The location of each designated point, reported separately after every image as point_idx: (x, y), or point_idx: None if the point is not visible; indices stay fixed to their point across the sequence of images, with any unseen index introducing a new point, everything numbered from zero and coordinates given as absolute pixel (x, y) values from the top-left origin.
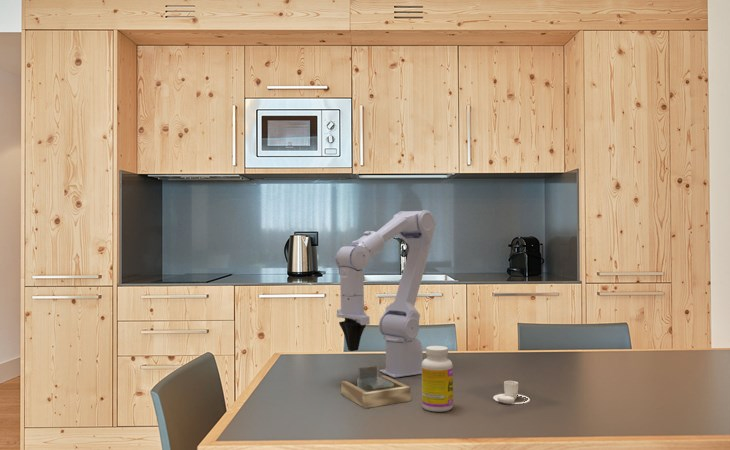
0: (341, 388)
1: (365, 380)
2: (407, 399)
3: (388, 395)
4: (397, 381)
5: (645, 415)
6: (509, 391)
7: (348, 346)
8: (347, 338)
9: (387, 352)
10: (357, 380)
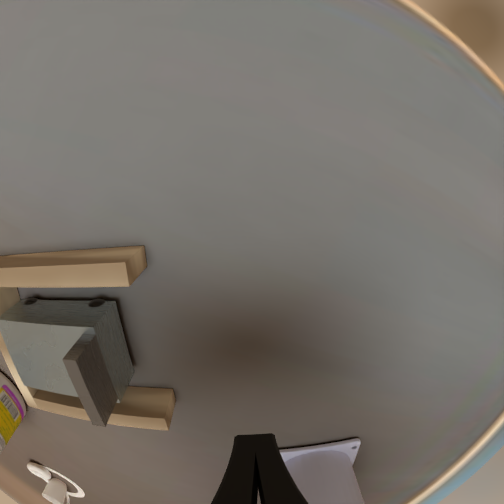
0: (134, 252)
1: (58, 338)
2: None
3: None
4: (83, 418)
5: (14, 489)
6: (46, 485)
7: (252, 453)
8: (247, 499)
9: (327, 500)
10: (92, 322)
